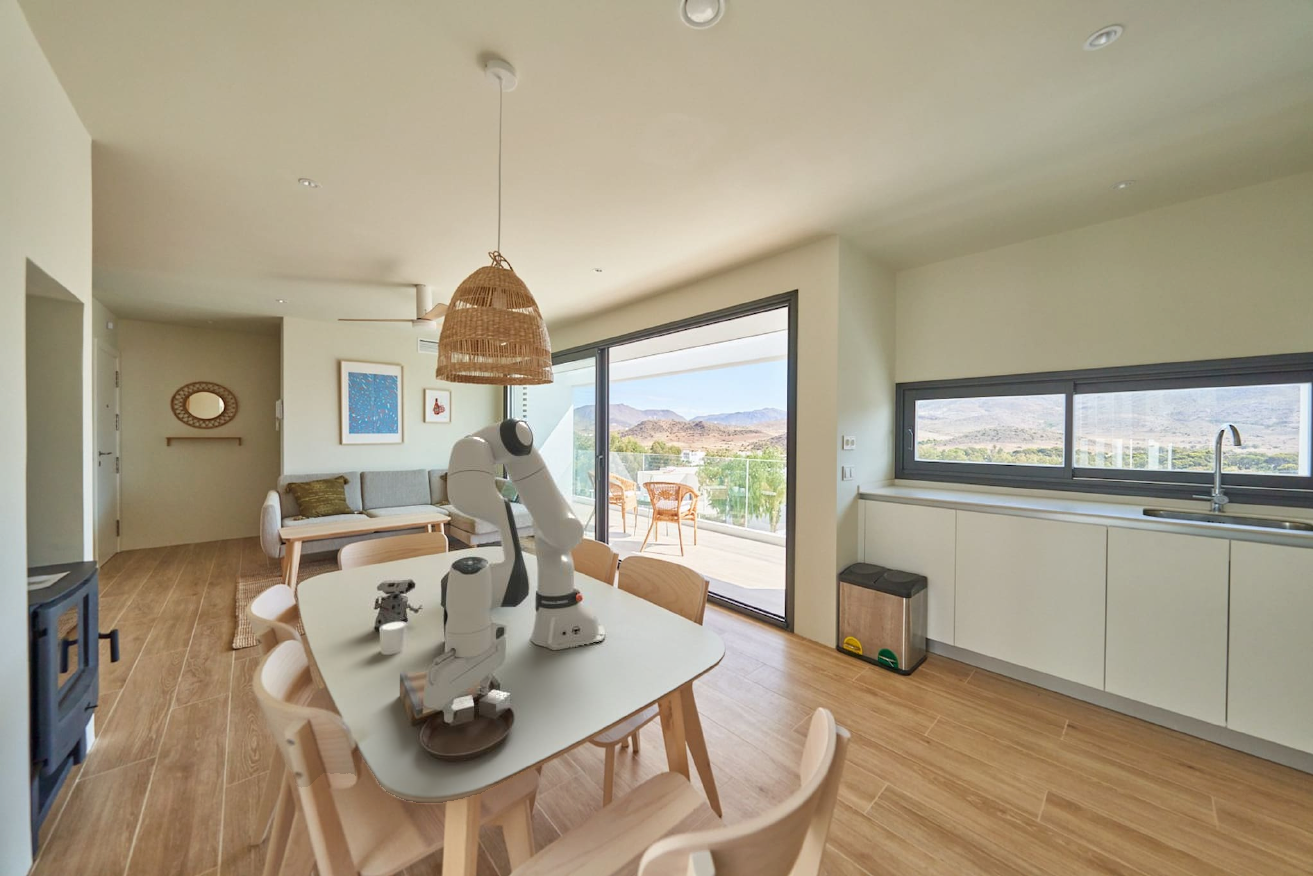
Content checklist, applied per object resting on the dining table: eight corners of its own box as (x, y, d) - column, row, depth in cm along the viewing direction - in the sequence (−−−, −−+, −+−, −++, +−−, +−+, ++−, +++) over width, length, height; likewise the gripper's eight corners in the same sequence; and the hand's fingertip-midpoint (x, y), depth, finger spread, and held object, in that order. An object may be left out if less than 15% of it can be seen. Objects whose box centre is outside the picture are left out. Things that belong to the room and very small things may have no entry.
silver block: (479, 714, 96) (479, 699, 96) (493, 703, 100) (493, 689, 100) (496, 718, 94) (496, 704, 94) (509, 707, 98) (510, 693, 98)
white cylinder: (394, 657, 125) (394, 631, 126) (372, 654, 127) (373, 629, 127) (412, 646, 132) (412, 622, 132) (391, 643, 134) (392, 619, 134)
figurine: (399, 635, 139) (400, 586, 139) (370, 630, 143) (371, 582, 143) (422, 624, 148) (423, 578, 148) (394, 619, 151) (395, 574, 151)
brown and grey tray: (399, 695, 107) (400, 672, 107) (474, 673, 117) (474, 652, 117) (415, 736, 92) (416, 709, 92) (499, 707, 103) (500, 683, 103)
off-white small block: (450, 726, 91) (450, 711, 91) (449, 714, 95) (449, 700, 95) (473, 720, 93) (474, 705, 93) (471, 709, 97) (471, 695, 97)
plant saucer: (513, 760, 86) (513, 744, 86) (409, 777, 82) (410, 760, 82) (515, 707, 103) (515, 694, 103) (430, 719, 99) (430, 705, 99)
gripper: (443, 665, 83) (441, 741, 83) (511, 623, 102) (510, 685, 102) (415, 659, 85) (414, 734, 84) (487, 619, 104) (486, 680, 104)
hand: (467, 707), depth 93 cm, fingers open, 8 cm apart
